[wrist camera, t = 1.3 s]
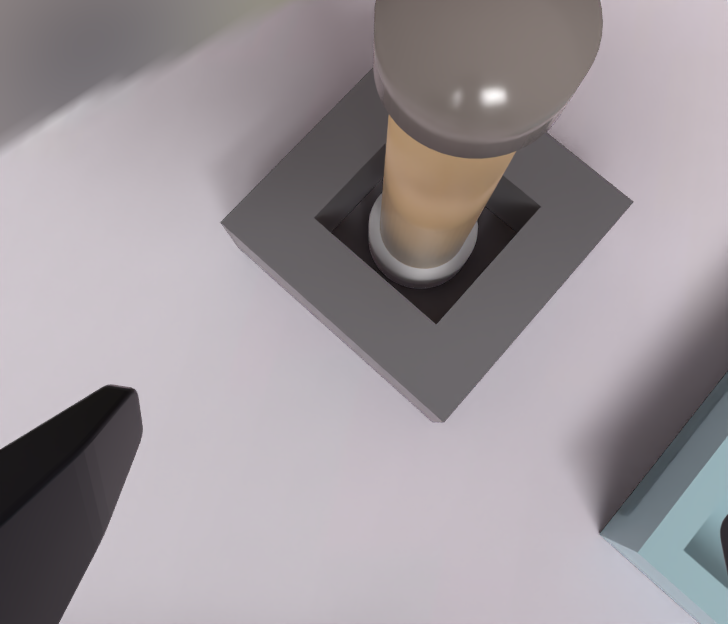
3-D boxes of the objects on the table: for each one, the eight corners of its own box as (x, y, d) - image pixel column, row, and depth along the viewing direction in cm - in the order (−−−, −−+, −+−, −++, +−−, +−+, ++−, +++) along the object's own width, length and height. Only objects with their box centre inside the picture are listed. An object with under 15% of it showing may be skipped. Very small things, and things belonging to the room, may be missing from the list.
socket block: (432, 422, 22) (443, 422, 19) (238, 247, 23) (220, 222, 20) (599, 229, 23) (633, 201, 20) (407, 74, 24) (413, 26, 21)
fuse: (424, 309, 23) (503, 166, 10) (347, 242, 23) (327, 21, 10) (491, 235, 23) (648, 7, 10) (414, 170, 24) (474, -123, 11)
